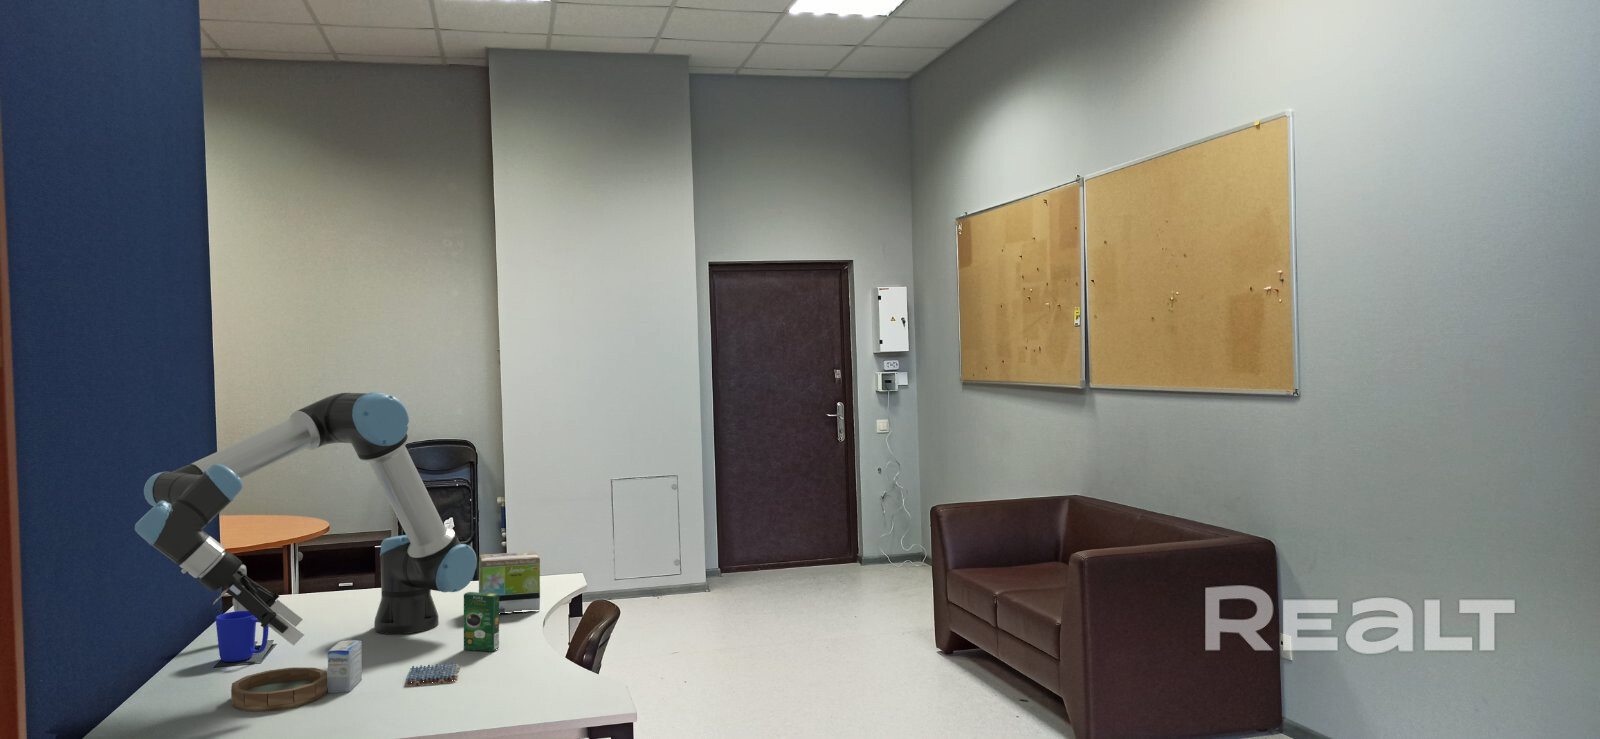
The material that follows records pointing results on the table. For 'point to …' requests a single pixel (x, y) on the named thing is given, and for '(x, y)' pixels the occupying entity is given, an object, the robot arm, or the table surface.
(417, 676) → the woven mat
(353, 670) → the medicine box
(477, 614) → the coffee box
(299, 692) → the round tray
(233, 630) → the mug
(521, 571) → the tea box
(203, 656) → the table surface
